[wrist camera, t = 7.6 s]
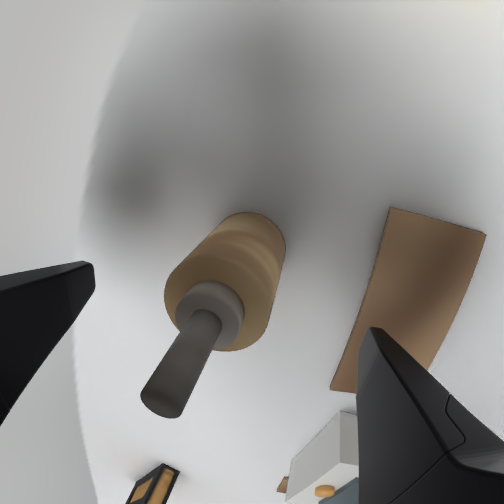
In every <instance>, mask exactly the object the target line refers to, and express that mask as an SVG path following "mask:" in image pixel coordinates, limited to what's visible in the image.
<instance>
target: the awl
mask: <svg viewBox="0 0 504 504" xmlns="http://www.w3.org/2000/svg"><path fill="white" fill-rule="evenodd" d="M284 257H285V242H284V238H283V236H282V234H281V232H280V230H279V229H278V227H277V226H276V225H275V224H274V223H273V222H272V221H270V220H269V219H268V218H266V217H264V216H262V215H259V214H256V213H250V212H242V213H237V214H234V215H232V216H229V217H228V218H226V219H225V220H224V221H223V222H222V223H220V224H219V225H218V226H217V227H216V228H215V229H214V230H213V231H212V232H211V233H210V234H209V235H208V236H207V237H206V238H205V239H204V240H203V241H202V242H201V243H200V244H199V245H198V246H197V247H196V248H195V249H194V250H193V251H192V252H191V253H190V254H189V255H188V256H187V257H186V258H185V259H184V260H183V261H182V262H181V263H180V264H179V265H178V266H177V267H176V268H175V269H174V270H173V272H172V273H171V274H170V276H169V278H168V280H167V282H166V285H165V290H164V302H165V306H166V310H167V313H168V315H169V317H170V319H171V321H172V322H173V324H174V325H175V326H176V328H177V329H178V330H179V331H180V333H179V334H178V336H177V337H176V339H175V340H174V342H173V343H172V345H171V347H170V348H169V350H168V351H167V353H166V354H165V356H164V357H163V359H162V360H161V362H160V363H159V365H158V367H157V368H156V370H155V371H154V373H153V374H152V376H151V377H150V379H149V380H148V382H147V384H146V385H145V387H144V388H143V390H142V391H141V394H140V397H141V400H142V402H143V403H144V405H145V406H146V407H147V408H148V409H149V410H151V411H152V412H154V413H155V414H157V415H159V416H162V417H165V418H178V417H179V416H180V415H181V414H182V412H183V410H184V408H185V406H186V403H187V401H188V399H189V397H190V395H191V393H192V391H193V389H194V387H195V385H196V382H197V380H198V378H199V376H200V374H201V372H202V370H203V368H204V366H205V364H206V361H207V359H208V357H209V355H210V353H211V351H212V350H216V351H237V350H241V349H244V348H246V347H248V346H250V345H252V344H253V343H255V342H256V341H257V340H258V339H259V338H260V337H261V336H262V335H263V333H264V332H265V330H266V328H267V325H268V322H269V318H270V314H271V310H272V306H273V302H274V298H275V294H276V290H277V286H278V282H279V278H280V274H281V270H282V265H283V261H284Z"/></svg>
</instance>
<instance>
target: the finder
mask: <svg viewBox="0 0 504 504" xmlns="http://www.w3.org/2000/svg"><path fill="white" fill-rule="evenodd" d="M358 492H359V457H358V424H357V415H354V414H350V413H346V412H342V411H339V412H338V413H337V414H336V416H335V417H334V418H333V419H332V420H331V421H330V422H329V423H328V424H327V425H326V426H325V427H324V428H323V429H322V431H321V432H320V433H319V434H318V435H317V436H316V437H315V438H314V439H313V440H312V441H311V442H310V443H309V444H308V445H307V446H306V447H305V448H304V449H303V450H302V451H301V452H299V453H298V454H297V455H296V456H295V457H294V458H293V459H292V460H291V466H290V473H289V479H288V485H287V492H286V498H285V502H287V503H292V504H358Z"/></svg>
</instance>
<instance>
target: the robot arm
mask: <svg viewBox="0 0 504 504" xmlns="http://www.w3.org/2000/svg"><path fill="white" fill-rule="evenodd" d="M94 290H95V276H94V267H93V265H92V264H91V263H89V262H85V261H78V262H73V263H67V264H62V265H56V266H51V267H46V268H40V269H35V270H29V271H24V272H19V273H14V274H9V275H3V276H0V426H1V424H2V423H3V421H4V420H5V418H6V416H7V415H8V413H9V412H10V409H11V408H12V407H13V405H14V404H15V402H16V401H17V399H18V397H19V396H20V394H21V393H22V392H23V390H24V389H25V387H26V386H27V384H28V383H29V382H30V380H31V379H32V377H33V376H34V374H35V373H36V372H37V370H38V369H39V367H40V366H41V365H42V363H43V362H44V361H45V359H46V358H47V357H48V355H49V354H50V353H51V351H52V350H53V349H54V347H55V346H56V345H57V343H58V342H59V341H60V339H61V338H62V337H63V336H64V334H65V333H66V332H67V330H68V329H69V328H70V326H71V325H72V324H73V323H74V321H75V320H76V318H77V317H78V315H79V314H80V312H81V310H82V309H83V307H84V306H85V304H86V303H87V301H88V300H89V298H90V297H91V295H92V294H93V292H94ZM356 405H357V424H358V457H359V492H358V504H504V441H503V440H501V439H500V438H499V437H498V436H497V435H496V434H494V433H493V432H492V431H491V430H490V429H489V428H487V427H486V426H485V425H484V424H483V423H481V422H480V421H479V420H478V419H477V418H476V417H475V416H474V415H472V414H471V413H470V412H469V411H468V410H467V409H466V408H465V407H464V406H463V405H462V404H461V403H460V402H458V401H457V400H456V399H455V398H454V397H453V396H452V395H451V394H449V392H448V391H447V390H446V389H445V388H444V387H443V386H442V385H441V384H440V383H439V382H438V381H437V380H436V379H435V378H434V377H433V376H432V375H431V374H430V373H429V372H428V371H427V370H426V369H425V368H424V367H423V366H422V365H421V364H419V363H418V362H417V361H416V360H415V359H414V358H413V357H412V356H411V355H410V354H409V353H408V352H407V351H406V350H405V349H404V348H403V347H402V346H401V345H399V344H398V343H397V342H396V341H395V340H394V339H393V338H392V337H391V336H390V335H389V334H388V333H387V332H386V331H385V330H383V329H382V328H378V327H369V328H368V329H367V331H366V334H365V336H364V339H363V341H362V344H361V346H360V349H359V352H358V371H357V390H356Z"/></svg>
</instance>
